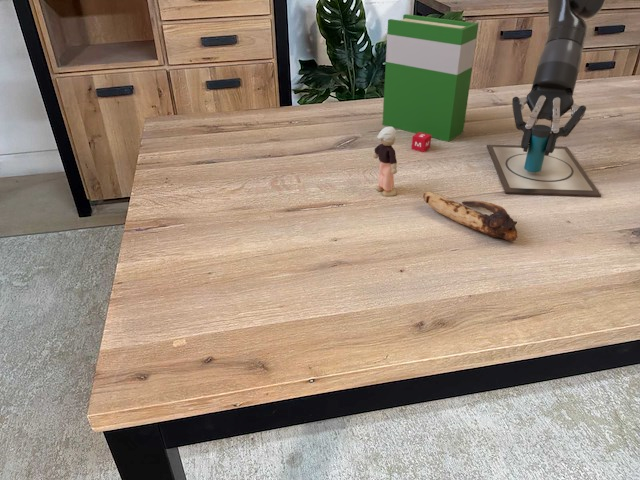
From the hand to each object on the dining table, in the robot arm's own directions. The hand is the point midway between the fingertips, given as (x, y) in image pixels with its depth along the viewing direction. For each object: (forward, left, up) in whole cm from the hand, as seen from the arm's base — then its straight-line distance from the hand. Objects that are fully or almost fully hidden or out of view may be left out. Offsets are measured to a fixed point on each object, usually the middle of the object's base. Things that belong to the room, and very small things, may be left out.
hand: (536, 151), depth 101 cm
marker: (-1, -2, -4) cm, 5 cm away
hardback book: (+19, -26, -6) cm, 33 cm away
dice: (+20, -14, -6) cm, 25 cm away
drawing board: (-3, -5, -6) cm, 8 cm away
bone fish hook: (+13, +16, -6) cm, 22 cm away
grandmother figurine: (+28, +6, -6) cm, 30 cm away
